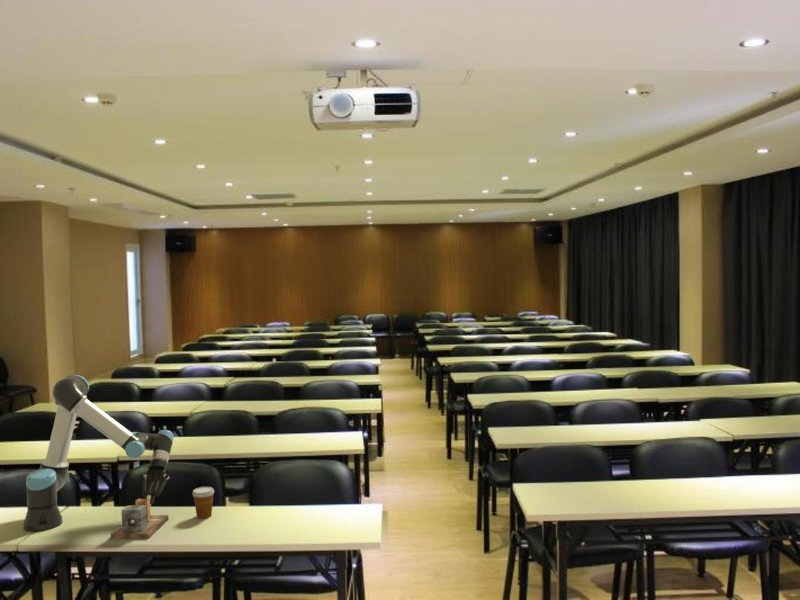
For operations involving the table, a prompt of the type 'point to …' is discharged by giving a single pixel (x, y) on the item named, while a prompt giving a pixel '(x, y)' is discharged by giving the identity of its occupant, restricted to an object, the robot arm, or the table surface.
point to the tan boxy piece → (147, 503)
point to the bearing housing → (138, 523)
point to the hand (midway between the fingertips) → (146, 510)
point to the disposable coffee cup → (203, 501)
